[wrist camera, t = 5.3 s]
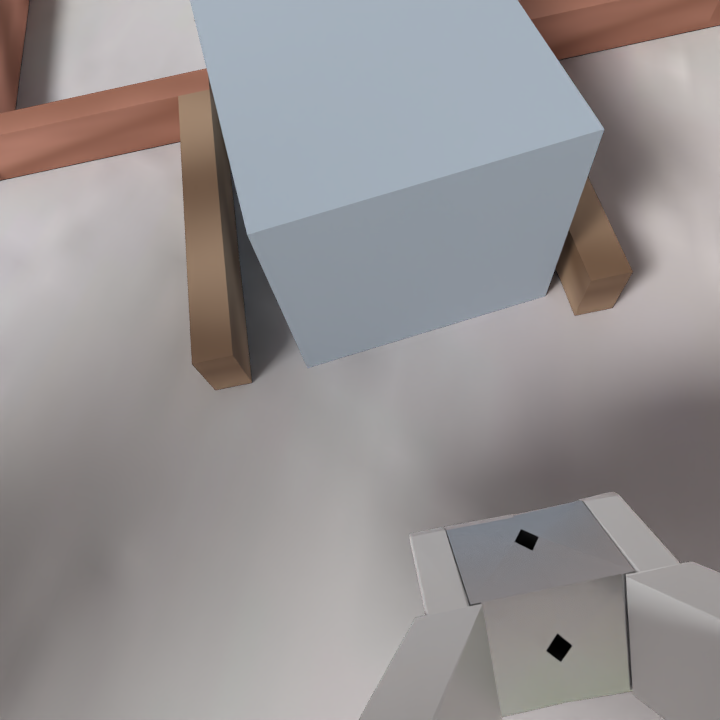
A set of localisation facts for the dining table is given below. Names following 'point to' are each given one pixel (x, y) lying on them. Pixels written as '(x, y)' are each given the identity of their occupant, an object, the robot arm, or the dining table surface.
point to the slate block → (396, 159)
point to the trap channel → (212, 168)
